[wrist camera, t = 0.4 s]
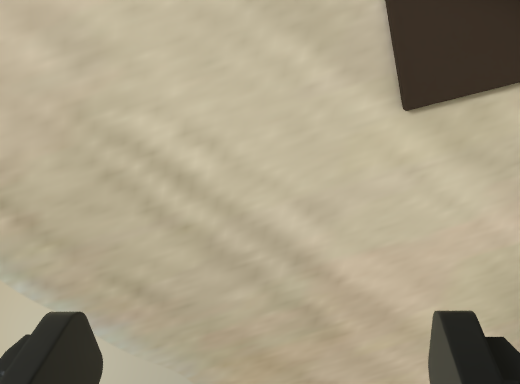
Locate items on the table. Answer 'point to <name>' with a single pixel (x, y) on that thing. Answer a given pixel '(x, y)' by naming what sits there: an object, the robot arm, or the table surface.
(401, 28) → the coaster
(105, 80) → the table surface
